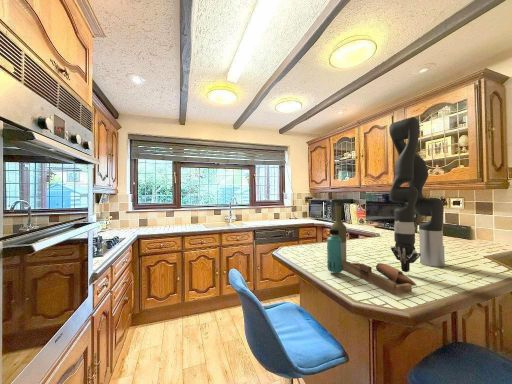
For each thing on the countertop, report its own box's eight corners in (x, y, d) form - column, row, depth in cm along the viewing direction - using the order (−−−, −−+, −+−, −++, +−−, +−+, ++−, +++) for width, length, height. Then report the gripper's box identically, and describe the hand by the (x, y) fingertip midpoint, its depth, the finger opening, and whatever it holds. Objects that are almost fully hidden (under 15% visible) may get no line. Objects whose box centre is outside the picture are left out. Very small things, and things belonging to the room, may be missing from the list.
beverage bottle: (342, 271, 100) (341, 228, 100) (343, 277, 94) (342, 230, 94) (327, 270, 102) (326, 227, 102) (327, 275, 96) (326, 230, 96)
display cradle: (357, 267, 105) (357, 255, 106) (412, 292, 78) (411, 275, 78) (342, 269, 103) (342, 256, 103) (393, 294, 76) (392, 277, 76)
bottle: (349, 266, 107) (348, 205, 107) (341, 269, 103) (340, 206, 103) (337, 263, 112) (336, 205, 113) (328, 266, 108) (327, 206, 109)
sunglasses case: (419, 285, 84) (409, 270, 84) (403, 294, 84) (393, 279, 85) (394, 269, 102) (386, 257, 102) (380, 277, 102) (373, 264, 102)
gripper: (426, 233, 90) (427, 275, 89) (397, 229, 103) (398, 266, 102) (411, 234, 88) (413, 277, 88) (385, 230, 101) (385, 267, 100)
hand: (405, 271), depth 95 cm, fingers closed
